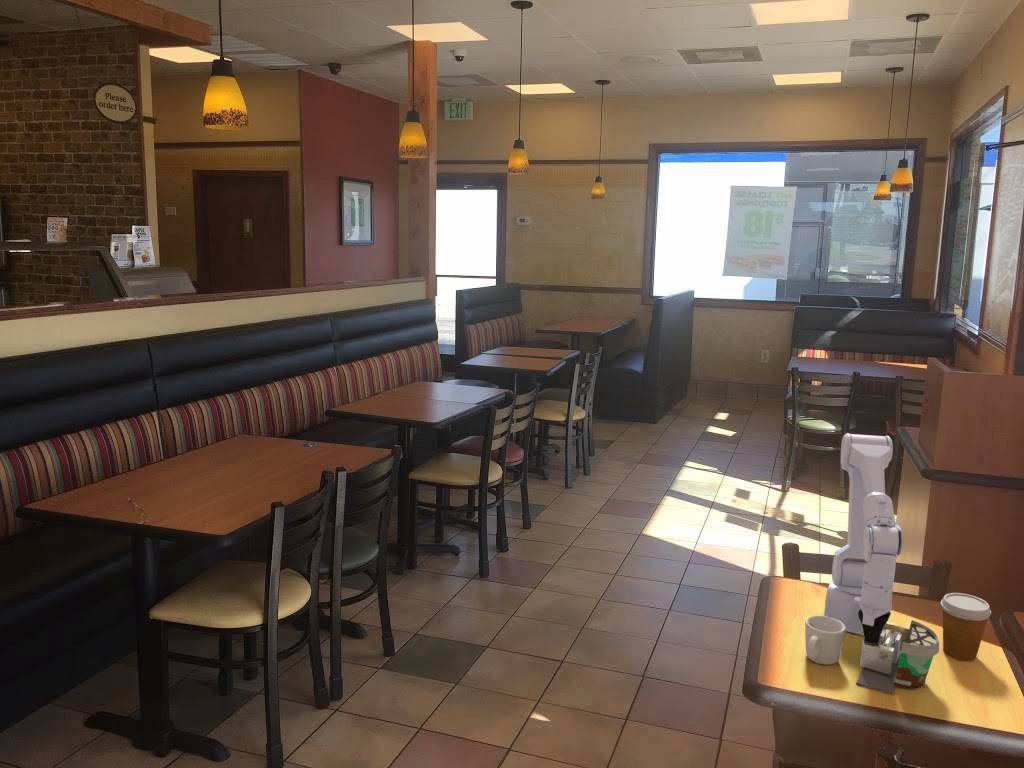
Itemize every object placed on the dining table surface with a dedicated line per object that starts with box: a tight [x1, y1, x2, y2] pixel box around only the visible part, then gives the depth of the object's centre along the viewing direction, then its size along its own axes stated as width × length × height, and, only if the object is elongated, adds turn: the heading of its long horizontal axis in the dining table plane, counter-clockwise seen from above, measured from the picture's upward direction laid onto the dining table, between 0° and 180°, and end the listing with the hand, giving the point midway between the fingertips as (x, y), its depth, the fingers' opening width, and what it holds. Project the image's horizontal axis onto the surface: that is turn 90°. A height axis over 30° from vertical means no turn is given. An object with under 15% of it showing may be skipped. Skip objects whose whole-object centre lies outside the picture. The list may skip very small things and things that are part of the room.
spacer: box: [877, 620, 910, 651], centre depth 181 cm, size 6×1×5 cm, turn 57°
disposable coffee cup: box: [940, 592, 992, 662], centre depth 181 cm, size 10×10×12 cm
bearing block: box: [879, 629, 902, 663], centre depth 179 cm, size 4×4×6 cm
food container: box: [894, 619, 940, 690], centre depth 170 cm, size 12×6×10 cm, turn 148°
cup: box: [804, 615, 847, 666], centre depth 177 cm, size 11×8×8 cm
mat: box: [855, 651, 901, 696], centre depth 176 cm, size 7×21×1 cm, turn 147°
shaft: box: [859, 630, 899, 674], centre depth 178 cm, size 6×13×5 cm, turn 147°
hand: (871, 644), depth 176 cm, fingers closed
